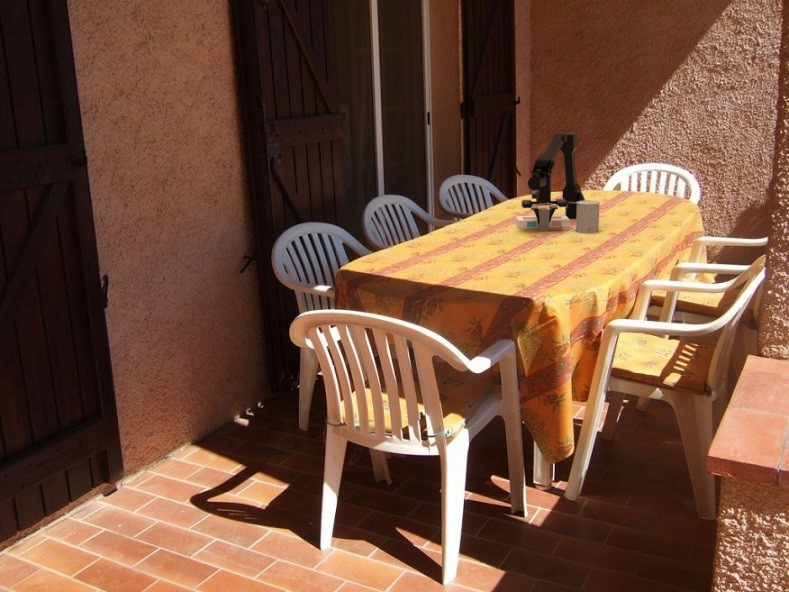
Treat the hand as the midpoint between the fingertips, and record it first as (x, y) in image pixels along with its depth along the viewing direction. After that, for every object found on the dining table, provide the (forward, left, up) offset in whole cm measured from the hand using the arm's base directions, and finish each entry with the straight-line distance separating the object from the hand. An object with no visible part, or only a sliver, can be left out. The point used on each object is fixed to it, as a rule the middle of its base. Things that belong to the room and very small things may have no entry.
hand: (543, 223), depth 378 cm
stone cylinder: (-18, +4, -3) cm, 19 cm away
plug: (0, 0, -3) cm, 3 cm away
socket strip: (-1, -10, -3) cm, 10 cm away
